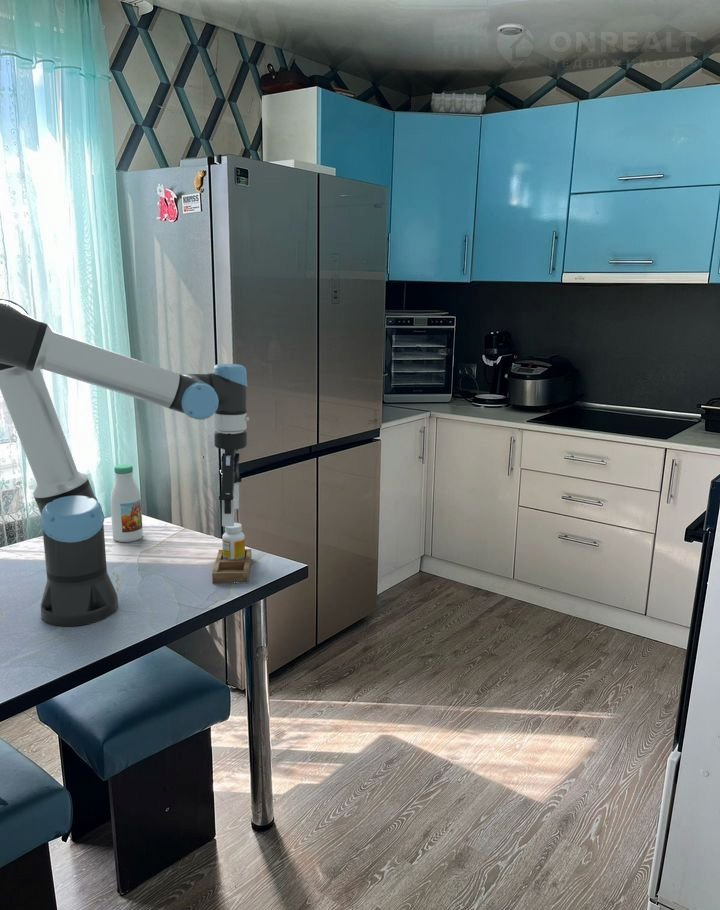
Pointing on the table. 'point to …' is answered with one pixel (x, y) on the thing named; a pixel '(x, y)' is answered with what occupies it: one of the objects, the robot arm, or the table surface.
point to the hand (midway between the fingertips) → (230, 516)
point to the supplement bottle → (233, 543)
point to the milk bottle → (125, 506)
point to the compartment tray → (231, 569)
